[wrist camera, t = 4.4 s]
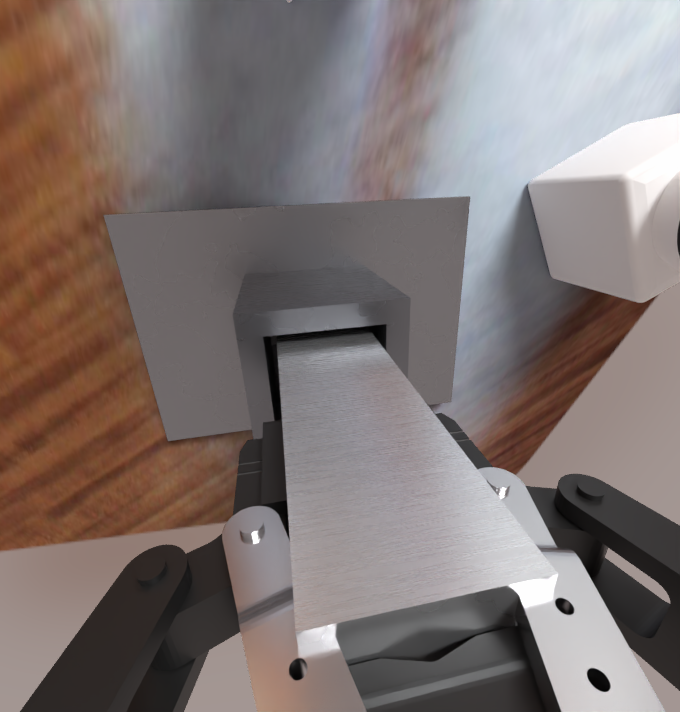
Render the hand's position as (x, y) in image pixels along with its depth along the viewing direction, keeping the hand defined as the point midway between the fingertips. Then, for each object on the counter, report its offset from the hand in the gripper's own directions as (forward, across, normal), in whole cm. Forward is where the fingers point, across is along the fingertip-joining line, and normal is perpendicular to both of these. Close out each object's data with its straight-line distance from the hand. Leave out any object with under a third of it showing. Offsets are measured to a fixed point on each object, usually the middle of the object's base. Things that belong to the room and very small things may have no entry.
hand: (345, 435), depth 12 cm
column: (+11, 0, 0) cm, 11 cm away
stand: (+13, 0, 0) cm, 13 cm away
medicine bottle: (+13, -19, -6) cm, 24 cm away
